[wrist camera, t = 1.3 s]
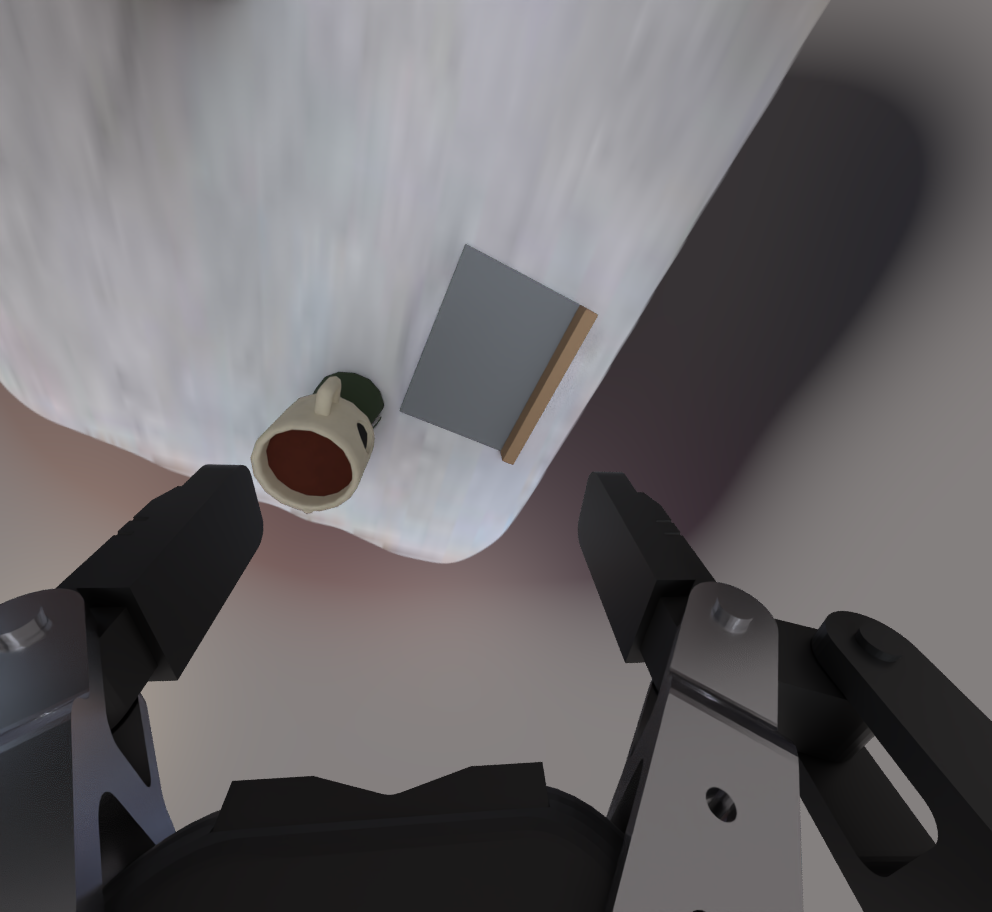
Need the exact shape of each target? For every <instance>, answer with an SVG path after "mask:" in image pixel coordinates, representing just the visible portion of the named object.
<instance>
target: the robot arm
mask: <svg viewBox="0 0 992 912" xmlns="http://www.w3.org/2000/svg"><path fill="white" fill-rule="evenodd" d="M133 518H134V519H133V521H129V522H128V523H126V524H125V525H124V526H123V527H122V528H121V529H120V530H119V531H118V534H117V535H114V536H112V537H111V538H110V539H109V540H108V541H107V542H106V543H105V544H104V545H102V546H101V547H100V548H99V549H98V550H97V551H96V552H95V553H94V554H93V555H92V556H90V557H89V558H88V559H87V560H86V561H85V562H84V563H83V564H82V565H80V566H79V567H78V568H77V569H76V570H75V571H74V572H73V573H72V574H71V575H70V576H68V577H67V578H66V579H65V580H64V581H63V582H62V583H61V584H60V585H59V586H58V587H57V588H55V589H48V590H41V591H37V592H33V593H29V594H25V595H22V596H19V597H16V598H14V599H11V600H9V601H6V602H4V603H2V604H0V912H803V887H802V857H801V856H802V854H801V823H800V797H801V799H802V801H803V803H804V804H805V806H806V808H807V810H808V812H809V814H810V815H811V817H812V819H813V821H814V822H815V825H816V826H817V828H818V830H819V832H820V834H821V835H822V837H823V839H824V841H825V842H826V844H827V846H828V848H829V850H830V852H831V853H832V855H833V857H834V859H835V861H836V863H837V864H838V866H839V868H840V870H841V872H842V873H843V875H844V877H845V879H846V881H847V882H848V884H849V886H850V888H851V890H852V892H853V893H854V895H855V897H856V899H857V901H858V902H859V904H860V906H861V908H862V910H863V911H864V912H992V721H991V720H990V719H989V718H988V717H987V716H986V715H984V713H983V712H982V711H981V710H979V709H978V708H977V707H976V706H975V705H974V704H973V703H972V702H971V701H970V700H969V699H968V698H967V697H966V696H965V695H964V694H963V693H962V692H961V691H960V690H959V689H958V688H957V687H956V686H955V685H954V684H953V683H952V682H951V681H950V680H949V679H948V678H947V677H946V676H945V675H944V674H943V673H942V672H941V671H940V670H939V669H938V668H937V667H936V666H935V665H934V664H933V663H931V662H930V661H929V660H928V659H927V658H926V657H925V656H924V655H923V654H922V653H921V652H920V651H919V650H918V649H917V648H916V647H915V646H914V645H913V644H912V643H911V642H909V641H908V640H907V639H906V638H904V637H903V636H902V635H901V634H899V633H898V632H896V631H895V630H893V629H892V628H890V627H888V626H886V625H885V624H883V623H881V622H879V621H877V620H875V619H872V618H869V617H867V616H864V615H861V614H858V613H853V612H848V611H837V612H833V613H831V614H829V615H828V616H827V618H826V619H825V621H824V622H823V623H822V625H821V626H820V628H819V629H814V628H810V627H806V626H802V625H798V624H794V623H790V622H785V621H782V620H778V619H774V618H773V616H772V615H771V613H770V612H769V611H768V609H767V608H766V607H765V606H764V605H763V604H762V603H760V602H759V601H758V600H757V599H756V598H754V597H753V596H751V595H750V594H748V593H746V592H745V591H743V590H741V589H739V588H737V587H734V586H731V585H729V584H725V583H720V582H716V581H715V580H714V578H713V577H712V575H711V574H710V573H709V571H708V570H707V569H706V567H705V566H704V564H703V563H702V562H701V560H700V559H699V557H698V556H697V555H696V553H695V552H694V551H693V549H692V548H691V546H690V545H689V544H688V542H687V541H686V540H685V538H684V537H683V536H681V535H680V531H679V530H678V529H677V527H676V526H675V524H674V523H671V519H670V518H669V516H668V515H667V513H666V512H665V511H664V509H663V508H662V506H661V505H660V504H658V503H657V502H656V501H654V500H653V499H652V498H650V497H649V496H648V495H646V494H645V493H642V492H636V490H635V489H634V487H633V486H632V484H631V483H630V481H629V480H628V478H627V477H626V475H625V474H624V473H622V472H592V473H591V474H590V475H589V478H588V482H587V486H586V491H585V495H584V499H583V503H582V508H581V512H580V517H579V522H578V538H579V543H580V547H581V549H582V552H583V554H584V557H585V560H586V562H587V565H588V568H589V570H590V572H591V575H592V578H593V580H594V583H595V586H596V588H597V591H598V594H599V596H600V599H601V601H602V604H603V606H604V609H605V612H606V614H607V617H608V619H609V622H610V625H611V627H612V630H613V632H614V635H615V638H616V640H617V643H618V646H619V648H620V651H621V653H622V656H623V658H624V661H625V663H638V662H639V663H640V662H645V663H646V666H647V668H648V670H649V672H650V675H651V677H652V680H651V682H650V685H649V688H648V691H647V694H646V698H645V701H644V704H643V707H642V711H641V714H640V717H639V720H638V724H637V727H636V731H635V733H634V737H633V741H632V743H631V747H630V750H629V753H628V757H627V760H626V763H625V766H624V769H623V772H622V775H621V778H620V780H619V783H618V785H617V788H616V791H615V793H614V796H613V799H612V802H611V804H610V807H609V810H608V813H607V816H606V817H605V816H604V815H602V814H601V813H600V812H598V811H597V810H596V809H594V808H593V807H592V806H590V805H588V804H587V803H585V802H583V801H582V800H580V799H578V798H577V797H575V796H573V795H570V794H568V793H566V792H563V791H561V790H559V789H556V788H552V787H548V786H546V782H545V776H544V769H543V763H542V762H535V763H518V764H502V765H487V766H486V765H485V766H471V767H468V768H465V769H463V770H460V771H457V772H455V773H452V774H449V775H447V776H444V777H441V778H439V779H436V780H433V781H430V782H428V783H425V784H422V785H420V786H417V787H414V788H412V789H409V790H406V791H404V792H401V793H398V794H394V795H384V794H380V793H376V792H373V791H369V790H365V789H361V788H357V787H353V786H349V785H346V784H342V783H338V782H334V781H330V780H326V779H322V778H319V777H315V776H306V777H290V778H273V779H257V780H241V781H232V783H231V785H230V788H229V791H228V793H227V796H226V798H225V801H224V803H223V805H222V808H221V810H219V811H216V812H214V813H211V814H210V815H207V816H205V817H203V818H201V819H199V820H197V821H195V822H192V823H191V824H189V825H187V826H185V827H184V828H182V829H180V830H179V831H177V832H176V831H175V829H174V826H173V823H172V821H171V819H170V816H169V814H168V811H167V809H166V806H165V803H164V799H163V795H162V790H161V784H160V778H159V773H158V767H157V762H156V756H155V750H154V744H153V738H152V732H151V727H150V721H149V715H148V709H147V705H146V701H145V699H144V698H143V696H142V694H141V693H140V692H141V691H142V689H143V688H144V686H145V685H146V683H147V682H148V681H175V680H178V679H179V677H180V676H181V674H182V672H183V671H184V669H185V667H186V666H187V664H188V662H189V661H190V659H191V658H192V656H193V654H194V652H195V651H196V649H197V647H198V646H199V644H200V643H201V641H202V639H203V638H204V636H205V634H206V633H207V631H208V629H209V628H210V626H211V625H212V623H213V621H214V620H215V618H216V616H217V615H218V613H219V611H220V610H221V608H222V606H223V605H224V603H225V602H226V600H227V598H228V596H229V595H230V593H231V592H232V590H233V588H234V587H235V585H236V583H237V582H238V580H239V578H240V577H241V575H242V574H243V572H244V570H245V569H246V567H247V565H248V564H249V562H250V560H251V559H252V557H253V555H254V554H255V552H256V550H257V549H258V547H259V545H260V543H261V539H262V535H263V519H262V515H261V511H260V507H259V503H258V500H257V496H256V492H255V488H254V484H253V480H252V476H251V473H250V471H249V469H248V468H247V467H246V466H244V465H212V464H208V465H204V466H203V467H201V468H200V469H199V470H198V471H197V472H196V473H195V474H194V475H193V476H192V477H191V478H190V479H189V480H188V481H187V482H186V483H185V484H184V485H182V486H177V487H176V488H174V489H172V490H170V491H168V492H166V493H164V494H163V495H161V496H159V497H157V498H155V499H153V500H152V501H150V502H149V503H148V504H147V505H146V506H145V507H144V508H143V509H142V510H141V511H140V512H138V513H137V514H136V515H135V516H134V517H133ZM874 736H876V738H877V739H878V740H879V742H880V743H881V744H882V745H883V747H884V748H885V749H886V751H887V752H888V753H889V755H890V756H891V757H892V758H893V760H894V761H895V762H896V764H897V765H898V766H899V768H900V769H901V770H902V772H903V773H904V774H905V776H906V777H907V778H908V780H909V781H910V782H911V783H912V785H913V786H914V787H915V789H916V790H917V791H918V793H919V794H920V795H921V796H922V798H923V799H924V801H925V802H926V804H927V805H928V806H929V808H930V810H931V812H932V814H933V816H934V818H935V822H936V825H937V829H938V840H937V843H936V844H935V842H934V841H933V840H932V838H931V837H930V836H929V834H928V833H927V831H926V830H925V829H924V827H923V826H922V825H921V823H920V822H919V821H918V819H917V818H916V817H915V815H914V814H913V812H912V811H911V810H910V808H909V807H908V805H907V804H906V803H905V801H904V800H903V799H902V797H901V796H900V795H899V793H898V792H897V790H896V789H895V788H894V786H893V785H892V783H891V782H890V781H889V779H888V778H887V777H886V775H885V774H884V773H883V771H882V770H881V768H880V767H879V766H878V764H877V763H876V762H875V760H874V759H873V757H872V756H871V755H870V753H869V752H868V751H867V749H866V748H865V747H864V745H866V744H867V743H868V741H870V739H872V738H873V737H874Z"/></svg>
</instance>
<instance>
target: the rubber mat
mask: <svg viewBox="0 0 992 912" xmlns="http://www.w3.org/2000/svg"><path fill="white" fill-rule="evenodd" d="M597 316H598V315H597V314H596V313H594V312H592V311H591V310H589V309H587V308H585V307H583V306H581V305H580V304H578V303H576V302H574V301H572V300H570V299H568V298H566V297H564V296H563V295H561V294H559V293H557V292H555V291H553V290H551V289H549V288H548V287H546V286H544V285H542V284H540V283H538V282H536V281H534V280H533V279H531V278H529V277H527V276H525V275H523V274H521V273H519V272H518V271H516V270H514V269H512V268H510V267H508V266H506V265H504V264H503V263H501V262H499V261H497V260H495V259H493V258H491V257H489V256H487V255H486V254H484V253H482V252H480V251H478V250H476V249H474V248H472V247H471V246H469V245H467V244H466V245H465V247H464V250H463V252H462V255H461V257H460V260H459V262H458V265H457V267H456V270H455V272H454V275H453V278H452V280H451V283H450V285H449V288H448V290H447V293H446V295H445V298H444V300H443V303H442V305H441V308H440V310H439V313H438V315H437V318H436V320H435V323H434V325H433V328H432V330H431V333H430V335H429V338H428V340H427V343H426V346H425V348H424V351H423V353H422V356H421V358H420V361H419V363H418V366H417V368H416V371H415V373H414V376H413V378H412V381H411V383H410V386H409V388H408V391H407V393H406V396H405V398H404V401H403V403H402V406H401V408H400V412H403V413H405V414H408V415H411V416H413V417H416V418H418V419H421V420H423V421H426V422H428V423H431V424H433V425H436V426H438V427H441V428H444V429H446V430H449V431H451V432H454V433H456V434H459V435H461V436H464V437H466V438H469V439H472V440H474V441H477V442H479V443H482V444H484V445H487V446H489V447H492V448H494V449H497V450H499V451H501V456H502V461H504V462H506V463H509V464H512V465H513V464H514V462H515V461H516V459H517V457H518V455H519V454H520V452H521V450H522V448H523V447H524V445H525V443H526V441H527V440H528V438H529V436H530V434H531V433H532V431H533V429H534V427H535V426H536V424H537V422H538V420H539V418H540V417H541V415H542V413H543V411H544V410H545V408H546V406H547V404H548V403H549V401H550V399H551V397H552V396H553V394H554V392H555V390H556V389H557V387H558V385H559V383H560V382H561V380H562V378H563V376H564V374H565V373H566V371H567V369H568V367H569V366H570V364H571V362H572V360H573V359H574V357H575V355H576V353H577V352H578V350H579V348H580V346H581V345H582V343H583V341H584V339H585V338H586V336H587V334H588V332H589V331H590V329H591V327H592V325H593V323H594V322H595V320H596V318H597Z"/></svg>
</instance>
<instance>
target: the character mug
mask: <svg viewBox="0 0 992 912" xmlns="http://www.w3.org/2000/svg"><path fill="white" fill-rule="evenodd" d="M383 407H384V403H383V400H382V397H381V393H380V391H379V390H378V389H377V388H376V386H375V385H374V384H373V383H372V382H371V381H370V380H369V379H367V378H365V377H362V376H360V375H358V374H355V373H345V372H337V373H335V374H332V375H329V376H327V377H325V378H324V379H323V380H322V382H321V383H320V384H319V385H318V387H317V388H316V390H315V391H314V393H313V394H312V395H309V396H305V397H301V398H299V399H298V400H297V401H296V402H294V403H293V404H292V405H291V406H290V407H289V408H288V409H287V410H286V411H285V412H284V413H283V414H282V415H281V416H280V417H279V418H278V419H277V420H276V421H275V422H274V423H273V424H272V425H271V426H270V427H269V428H268V429H267V430H266V431H265V432H264V433H263V434H262V435H261V436H260V437H259V438H258V440H257V441H256V443H255V446H254V449H253V452H252V455H251V463H252V468H253V473H254V476H255V478H256V479H257V481H258V482H259V483H260V485H261V486H262V488H263V489H264V491H265V492H267V493H268V494H269V495H271V496H272V497H273V498H275V499H276V500H277V501H279V502H280V503H282V504H284V505H287V506H290V507H293V508H295V509H298V510H302V511H303V512H304V513H306V514H309V513H312V512H313V511H323V510H327V509H330V508H334V507H338V506H339V505H341V504H342V503H344V502H345V501H346V500H348V499H349V498H350V497H351V496H352V495H353V493H354V492H355V490H356V489H357V487H358V484H359V482H360V480H361V477H362V475H363V472H364V470H365V468H366V465H367V463H368V461H369V459H370V456H371V453H372V450H373V447H374V440H375V437H374V430H373V429H374V428H375V426H376V425H377V424H378V422H379V421H380V420H381V417H380V419H379V420H378V422H377V423H376V424H375V425H374V426H373V427H372V423H373V422H374V420H375V419H376V418H377V416H378V415H379V414H380V412H381V411H382V409H383Z"/></svg>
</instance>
